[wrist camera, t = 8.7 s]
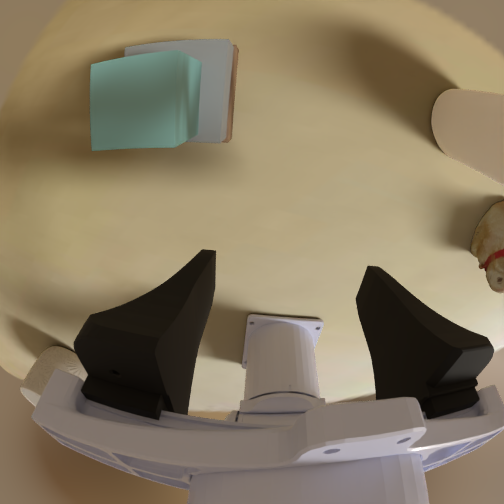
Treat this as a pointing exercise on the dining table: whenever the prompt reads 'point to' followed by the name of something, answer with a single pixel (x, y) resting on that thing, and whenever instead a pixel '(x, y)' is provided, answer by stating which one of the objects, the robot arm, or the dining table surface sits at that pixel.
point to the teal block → (144, 101)
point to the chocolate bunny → (491, 246)
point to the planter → (50, 371)
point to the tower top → (204, 81)
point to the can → (471, 129)
